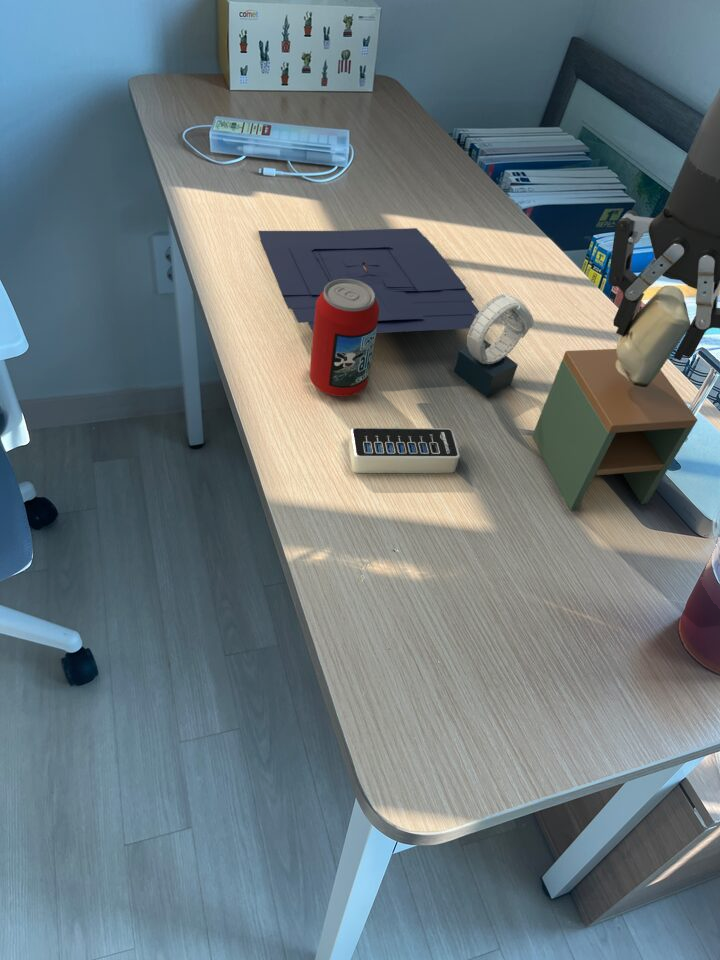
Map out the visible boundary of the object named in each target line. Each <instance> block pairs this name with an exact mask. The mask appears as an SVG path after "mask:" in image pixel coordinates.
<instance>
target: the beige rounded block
mask: <svg viewBox="0 0 720 960" xmlns="http://www.w3.org/2000/svg"><path fill="white" fill-rule="evenodd" d="M690 325H691V320H690V317H689V312H688V307H687V303H686V301H685V295H684V293H683V290H681V289H680V287H677V286H675V285H664V286H662V287H661V288H660V289H658V290H657V292H656V293H655V294H654V295H653V296H652V297H651V298H650V299H648V301H647V302H646V303H645V304H644V305H643V306H642V307H641V309H640V310H639V311H638V312H636V314H635V315H634V318H633V320H632V321H631V323H630V325H629V327H628V329H627V331H626V332H625V334H624V335H623V336H621V335H619V338H618V340H617V343H616V349H617V357H618V360H617V361H616V368H617V370H618V372H620V373H621V374H622V375H624V376H625V377H626V378H627V380H628V381H629V382H630V383H632V384H633V385H636V386H640V387H647V386H648V385H649V383H650V382H651V381H652V380H653V379H654V378H655V376H656V375H657V374H658V373H659V371H660V370H661V371H662V368H663V367H664V365H665V363H666V362H667V361H668V359H669V357H670V356H671V355H672V353H673V352H674V351H675V349H676V348H677V346H679V344H680V343H681V341H682V340H683V338H684V336H685V334H686V332H687V330H688V329H689V327H690Z"/></svg>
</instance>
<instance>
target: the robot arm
mask: <svg viewBox="0 0 720 960" xmlns="http://www.w3.org/2000/svg"><path fill="white" fill-rule="evenodd" d="M647 233H648V235H649V236H648V237H649V240H650V244H651V248H652V251H653V255H654V258H653V259H652V260H651V261H650V262H649V263H648V265H647V266H646V267H644V268H643V269H642V270H641V271H640V273H639V274H636V273H634V272H633V271H632V270H631V269H632V262H633V255H634V248H635V244H637V243H639V242H640V240H641V239H642V238H643V236H644V234H647ZM610 259H611V260H610V265H609V273H608V284H609V285H610V286H612V287H615V288H618V289H619V290H620V291H621V292H622V296H623V297H622V299H621V302H620V305H619V306H618V308H617V311H616V314H615V316H614V318H613V320H612V321H613V326H614V327H615V328H617V330H616V332H615V334H617V335H619V336H623V335H624V334H625V332H626V331H627V329H628V327H629V325H630V323H631V321H632V320H633V319H634V317H635V316H636V314H637V311H638V309H639V307H640V305H641V302H642V300H643V298H644V296H645V293H644V292H646V290H648V288H650V287H651V286H653V284H654V283H656V282H657V281H658V280H659V279H660V278H661V277H664V278H667V279H669V280H673V281H674V280H675V281H680V282H682V283H684V285H686V286H688V287H690V288H693V289H695V290H696V294H695V305H696V307H695V308H696V310H695V316H694V317H693V319H692V321H691V322H690V327H689V329H688V330H687V332H686V333H685V335H684V336H683V338H682V339H681V341H680V343H679V344H678V347H677V349H676V351H675V353H674V355H673V356H672V357H673V359H675V360H677V361H682V359H683V357H687V358H690V357H691V356H693V355H694V353H695V352H696V350H697V349H698V347H699V345H700V343H701V341H702V339H703V337H704V335H705V334H706V332H707V331H708V330H710V329H720V307H718V302H719V293H720V88H719V90H718V91H717V94H716V96H715V97H714V99H713V100H712V102H711V104H710V106H709V107H708V109H707V110H706V113H705V114H704V116H703V118H702V120H701V122H700V124H699V127H698V129H697V132H696V134H695V136H694V139H693V141H692V143H691V145H690V147H689V150H688V151H687V154H686V157H685V159H684V161H683V164H682V167H681V168H680V170H679V172H678V174H677V177H676V180H675V182H674V184H673V186H672V189H671V191H670V193H669V196H668V198H667V200H666V202H665V205H664V207H663V209H662V210H661V211H660V212H659V213H658V214H656V215H655V216H654V217H648V216H639V214H638V213H637V211H635V210H627V211H626V212H625V213H624V214H623V215H622V216H621V217H620V219H619V220H618V221H617V222H616V223H615V228H614V234H613V242H612V250H611V256H610Z"/></svg>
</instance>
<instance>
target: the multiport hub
mask: <svg viewBox="0 0 720 960" xmlns="http://www.w3.org/2000/svg"><path fill="white" fill-rule="evenodd" d="M348 451H349V457H350V465H351V470H352V472H353V473H355V474H453V473H455V472H456V469H457V466H458V463H459V459H460V451H459V449H458V444H457V441H456V438H455V434H454V431H453V430H452V429H451V428H435V427H434V428H432V427H431V428H430V427H429V428H427V427H426V428H421V427H420V428H418V427H353V428H351V429H350V434H349V441H348Z"/></svg>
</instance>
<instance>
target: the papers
mask: <svg viewBox="0 0 720 960" xmlns="http://www.w3.org/2000/svg"><path fill="white" fill-rule="evenodd" d="M257 232H258V235H259V239H260V240H259V241H260V245H261V247H262V248H263V252H264V253H265V255H266V259H267V261H268V263H269V265H270V268H271V271H272V273H273V275H274V278H275V281H276V283H277V286H278V288H279V291H280V293H281V295H282V298H283V300H284V303H285V305H286V307H287V309H288V310H292V313H293V315H294V317H295V320H296V321H297V323H299V324H301V323H307V324H308V326H309V328H310V330H311V333H313V329H314V319H315V309H316V301H317V299H318V297H319V296H320V295H321V293H322V292H323V291H324V288H325V286H326V285H327V284H328V283H330V282H332V281H334V280H338V279H353V280H357V281H360V282H363V283H365V284H367V285H368V286H369V287H371V288H372V290H373V291H374V293H375V299H376V301H377V303H378V306H379V317H378V323H377V330H376V334H383V333H385V334H387V333H399V332H400V333H402V332H421V331H422V332H424V331H425V332H427V331H444V330H445V331H447V330H466V329H468V330H470V327H471V325H472V323H473V321H474V319H475V318H476V317H474V315H477V314H478V313H479V312H480V310H479V309H478V308H477V306H476V304H475V303H474V302H475V301H476V300H475V299H474V298H473V296H472V295H471V294H470V292H469V291H468V289H467V286H466V285H465V284H464V283H463V281H462V280H461V279H460V277H459V276H458V275H457V273H456V272H455V271H454V270H453V268H452V267H451V266H450V265H449V263H448V262H447V261H446V260H445V258H444V256H442V254H441V253H440V252H439V251H438V249H437V247H435V245H434V244H433V243H431V241H430V240H429V239H428V238H427V237H426V236H424V235H423V233H422V232H421V231H420V230H419V229H418V228H417V227H415V228H414V227H412V228H411V227H410V228H384V229H383V228H381V229H354V230H353V229H352V230H258V231H257Z"/></svg>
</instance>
